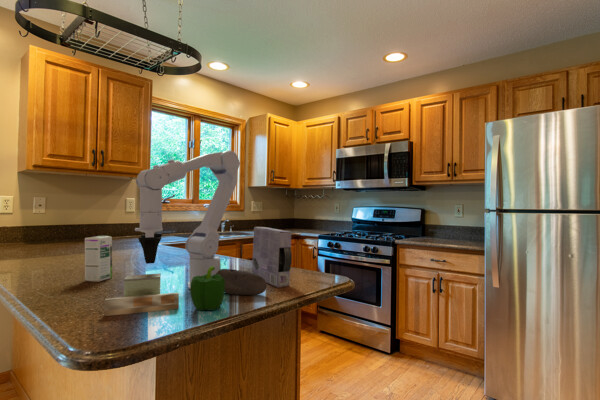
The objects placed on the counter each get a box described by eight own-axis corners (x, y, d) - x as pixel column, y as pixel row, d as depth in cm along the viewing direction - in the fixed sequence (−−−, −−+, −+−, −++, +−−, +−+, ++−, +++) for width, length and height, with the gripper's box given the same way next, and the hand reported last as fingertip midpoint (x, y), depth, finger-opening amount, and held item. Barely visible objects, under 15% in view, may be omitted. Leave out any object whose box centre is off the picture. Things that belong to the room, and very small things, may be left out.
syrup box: (99, 281, 110) (99, 237, 110) (84, 281, 111) (84, 237, 111) (112, 278, 116) (112, 235, 116) (97, 277, 117) (98, 235, 117)
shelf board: (178, 296, 93) (178, 283, 93) (178, 308, 83) (178, 293, 83) (112, 302, 87) (112, 288, 87) (104, 316, 77) (104, 300, 77)
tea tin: (123, 304, 82) (124, 279, 82) (126, 299, 87) (126, 275, 87) (159, 300, 85) (159, 277, 85) (160, 296, 89) (160, 273, 89)
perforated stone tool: (269, 293, 97) (269, 269, 97) (263, 298, 92) (263, 273, 92) (222, 290, 101) (222, 267, 101) (213, 294, 95) (213, 270, 96)
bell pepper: (207, 316, 78) (207, 272, 78) (183, 309, 82) (183, 268, 82) (232, 306, 85) (233, 266, 85) (209, 301, 89) (210, 263, 89)
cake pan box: (292, 286, 105) (293, 230, 105) (279, 288, 102) (279, 230, 102) (263, 275, 121) (264, 226, 121) (251, 277, 118) (251, 226, 118)
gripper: (137, 211, 99) (137, 257, 99) (132, 213, 86) (132, 266, 86) (163, 211, 102) (163, 256, 102) (162, 212, 88) (162, 264, 88)
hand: (150, 260), depth 94 cm, fingers open, 7 cm apart
